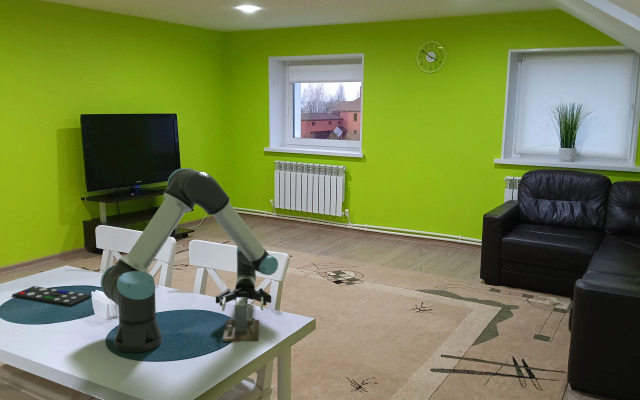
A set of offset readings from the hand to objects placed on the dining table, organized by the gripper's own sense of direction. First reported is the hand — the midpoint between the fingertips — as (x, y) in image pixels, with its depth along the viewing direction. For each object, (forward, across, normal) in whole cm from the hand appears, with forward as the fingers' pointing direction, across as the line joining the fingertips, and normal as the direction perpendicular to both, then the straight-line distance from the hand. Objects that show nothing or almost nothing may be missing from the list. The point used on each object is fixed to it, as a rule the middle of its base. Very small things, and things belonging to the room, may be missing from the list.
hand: (242, 307), depth 196 cm
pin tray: (0, 0, -9) cm, 9 cm away
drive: (0, 0, -8) cm, 8 cm away
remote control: (-38, +79, -10) cm, 89 cm away
